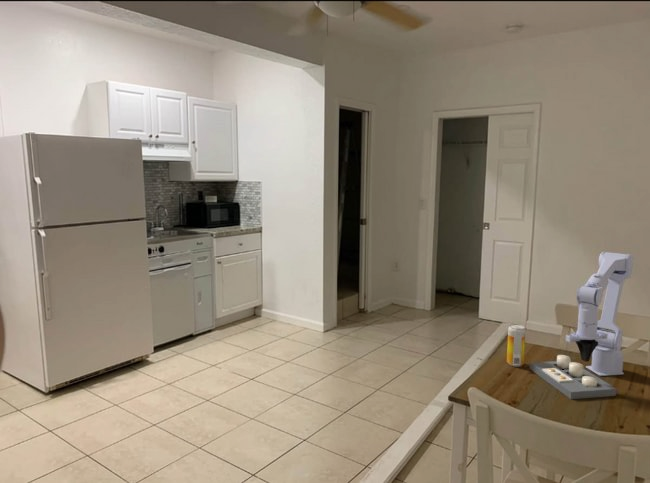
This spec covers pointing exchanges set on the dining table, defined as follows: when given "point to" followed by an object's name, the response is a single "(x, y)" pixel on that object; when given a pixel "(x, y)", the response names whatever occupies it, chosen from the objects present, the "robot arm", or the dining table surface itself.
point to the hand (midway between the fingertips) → (585, 360)
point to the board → (576, 387)
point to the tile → (557, 375)
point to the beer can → (516, 345)
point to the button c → (589, 381)
